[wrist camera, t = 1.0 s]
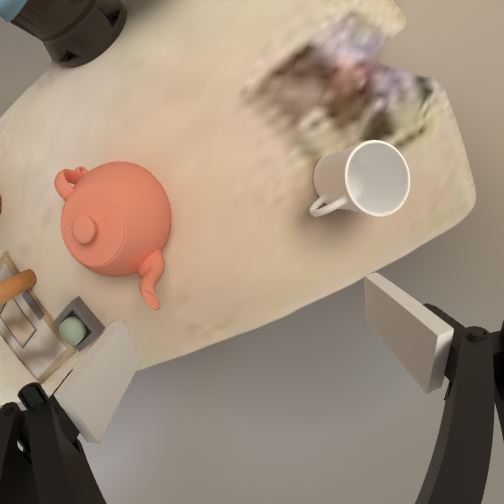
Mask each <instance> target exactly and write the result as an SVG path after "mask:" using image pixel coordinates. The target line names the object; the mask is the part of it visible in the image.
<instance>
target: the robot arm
mask: <svg viewBox="0 0 504 504" xmlns="http://www.w3.org/2000/svg"><path fill="white" fill-rule="evenodd" d="M0 16H1V17H2V18H4V19H5V21H6V22H11V23H12V24H14V25H16V26H18V27H19V28H21V29H23V30H25V31H27V32H28V33H30V34H31V35H33V36H35V37H37V38H38V39H40V40H41V41H43V43H44V45H45V47H46V49H47V51H48V52H49V54H50V56H51V58H52V59H53V60H54V61H55V62H57V63H59V64H60V65H62V66H65V67H76V66H80V65H82V64H85V63H87V62H89V61H91V60H93V59H94V58H96V57H97V56H99V55H100V54H101V53H103V52H104V51H105V50H106V49H107V48H108V47H109V46H110V45H111V44H112V43H113V42H114V41H115V39H116V38H117V37H118V35H119V34H120V32H121V31H122V29H123V27H124V24H125V21H126V10H125V7H124V6H123V4H122V3H121V2H120V0H0ZM364 280H365V299H366V322H367V323H368V324H369V325H370V326H371V327H372V329H373V330H374V331H375V332H376V333H377V334H378V336H379V337H380V338H381V339H382V340H383V342H384V343H385V344H386V345H387V346H388V347H389V349H390V350H391V351H392V352H393V353H394V354H395V356H396V357H397V358H398V360H399V361H400V362H401V363H402V364H403V366H404V367H405V368H406V369H407V370H408V372H409V373H410V374H411V375H412V376H413V378H414V379H415V380H416V381H417V383H418V384H419V385H420V387H421V388H422V389H423V390H424V392H425V393H426V394H427V393H430V392H432V391H434V390H436V389H438V388H440V387H442V383H443V379H444V375H445V376H446V377H447V378H448V379H449V380H450V381H449V385H448V388H447V392H446V395H445V398H444V400H446V401H445V406H444V412H443V416H442V421H441V425H440V430H439V434H438V438H437V441H436V445H435V449H434V452H433V455H432V459H431V462H430V465H429V468H428V471H427V474H426V477H425V480H424V482H423V485H422V488H421V490H420V493H419V495H418V498H417V500H416V503H415V504H481V502H482V498H483V494H484V489H485V485H486V480H487V475H488V469H489V463H490V456H491V448H492V438H493V427H494V401H495V404H496V408H497V412H498V416H499V421H500V425H501V430H502V435H503V440H504V321H503V324H502V328H501V331H497V332H493V333H489V332H488V331H487V330H486V329H484V328H481V327H477V326H473V327H467V328H465V327H464V326H463V325H461V324H460V323H458V322H457V321H456V320H454V319H453V318H452V317H450V316H448V315H447V314H446V313H444V312H443V311H442V310H440V309H439V308H437V307H436V306H433V305H430V304H427V303H426V304H424V305H422V304H420V303H419V302H418V301H416V300H415V299H414V298H412V297H411V296H409V295H408V294H407V293H405V292H404V291H402V290H401V289H400V288H398V287H397V286H395V285H394V284H393V283H391V282H390V281H388V280H387V279H385V278H384V277H383V276H381V275H380V274H378V273H373V274H369V275H365V276H364ZM140 362H141V361H140V359H139V357H138V354H137V352H136V350H135V347H134V345H133V342H132V340H131V338H130V335H129V333H128V330H127V328H126V325H125V322H124V321H117V322H112V324H111V325H110V326H109V327H108V328H107V329H106V330H105V332H104V333H103V334H102V335H101V336H100V338H99V339H98V340H97V341H96V342H95V343H94V345H93V346H92V347H91V348H90V349H89V351H88V352H87V353H86V354H85V356H84V357H83V358H82V359H81V360H80V362H79V363H78V364H77V365H76V367H75V368H74V369H73V370H71V371H70V372H69V373H68V375H67V376H66V377H65V379H64V380H63V381H62V382H61V384H60V385H59V386H58V387H57V389H56V390H55V391H54V392H53V394H52V395H51V396H50V398H48V396H47V395H46V393H45V391H44V390H43V388H42V386H41V385H40V384H39V383H37V382H33V383H30V384H27V385H26V386H24V387H23V388H22V389H21V390H20V391H19V393H18V397H19V398H20V400H21V402H22V403H23V405H24V406H25V407H26V409H27V410H24V411H21V409H20V408H19V406H18V405H17V403H15V402H10V403H6V404H4V405H3V407H2V408H1V409H0V504H106V502H105V500H104V498H103V496H102V494H101V492H100V489H99V487H98V485H97V483H96V480H95V478H94V476H93V473H92V471H91V469H90V466H89V464H88V461H87V459H86V456H85V453H84V450H83V448H82V445H81V443H80V441H79V440H78V439H77V436H78V434H79V433H81V435H82V436H83V437H84V439H85V440H86V441H87V442H93V443H100V442H101V440H102V438H103V436H104V434H105V432H106V429H107V427H108V425H109V423H110V421H111V419H112V417H113V415H114V413H115V411H116V409H117V407H118V405H119V403H120V401H121V399H122V397H123V395H124V393H125V391H126V389H127V387H128V385H129V383H130V381H131V379H132V377H133V375H134V373H135V371H136V369H137V368H138V366H139V364H140ZM17 441H18V442H19V443H20V445H21V446H22V447H23V452H22V451H21V450H20V449H19V448H18V445H17Z"/></svg>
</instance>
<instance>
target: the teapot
mask: <svg viewBox="0 0 504 504" xmlns="http://www.w3.org/2000/svg"><path fill="white" fill-rule="evenodd" d="M68 182H69V183H72V184H75V186H74V187H73V188H72V187H71V186H70V184H69V183H68ZM55 188H56V190H57V192H58V194H59V195H60V196H61V197H62V198H63V199H64V200H65V201H66V202H65V204H64V207H63V211H62V217H61V231H62V236H63V240H64V242H65V245H66V247H67V248H68V250H69V252H70V253H71V254H72V256H73V257H74V258H75V259H76V260H77V261H78V262H79V263H81V264H82V265H83V266H85V267H86V268H88V269H89V270H92V271H94V272H96V273H98V274H102V275H106V276H125V275H129V274H133V273H136V272H138V274H139V275H140V277H141V278H142V280H141V282H140V292H141V295H142V297H143V299H144V300H145V301H146V303H147V304H148V305H149V306H150V307H151V308H153V309H155V310H158V309H159V308H160V303H159V300H158V297H157V295H156V293H155V284H156V283H157V281H158V280H159V279H160V277H161V275H162V273H163V271H164V258H163V255H162V253H161V252H162V250H163V249H164V247H165V245H166V242H167V240H168V237H169V233H170V228H171V210H170V204H169V201H168V198H167V195H166V193H165V191H164V189H163V187H162V186H161V184H160V183H159V181H158V180H157V179H156V178H155V177H154V176H153V175H152V174H151V173H150V172H149V171H147V170H146V169H145V168H143V167H141V166H139V165H136V164H133V163H128V162H111V163H107V164H104V165H101V166H99V167H96V168H94V169H92V170H91V171H89V172H88V171H87V170H86V169H85V168H84V167H78V168H76V169H75V170H74V171H73V170H69V169H64V170H62V171H60V172H59V173H58V174H57V176H56V178H55Z"/></svg>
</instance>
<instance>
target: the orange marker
mask: <svg viewBox="0 0 504 504" xmlns="http://www.w3.org/2000/svg"><path fill="white" fill-rule="evenodd" d="M35 284H36V276H35V274H34V272H33V271H32V270H30V269H28V270H24V271H22V272H20V273H18V274H16V275H14V276H12V277H10V278H8V279H6V280H4V281H2V282H0V306H1V305H3V304H4V303H6V302H8V301H9V300H11V299H13V298H14V297H16V296H18V295H19V294H21V293H23V292H24V291H26V290H28V289H30V288H31V287H32V286H34V285H35Z"/></svg>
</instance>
